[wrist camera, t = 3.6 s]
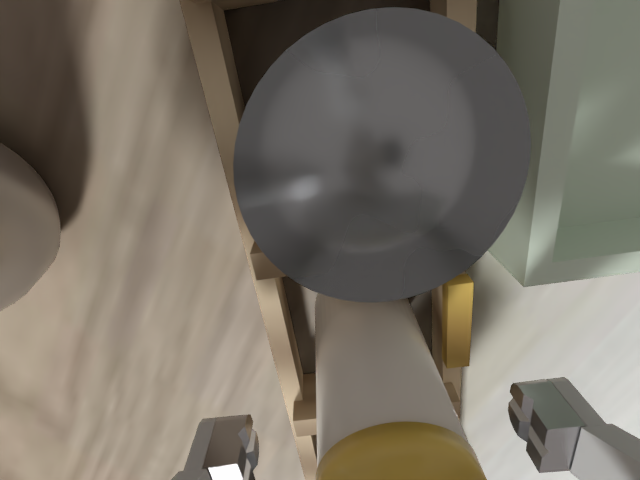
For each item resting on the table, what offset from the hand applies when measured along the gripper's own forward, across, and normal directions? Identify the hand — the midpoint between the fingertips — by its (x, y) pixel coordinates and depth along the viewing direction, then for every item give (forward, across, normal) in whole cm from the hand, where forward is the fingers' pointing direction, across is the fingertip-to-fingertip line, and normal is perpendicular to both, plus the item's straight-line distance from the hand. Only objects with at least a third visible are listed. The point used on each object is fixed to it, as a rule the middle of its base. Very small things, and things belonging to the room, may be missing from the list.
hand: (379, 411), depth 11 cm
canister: (+5, 0, -8) cm, 10 cm away
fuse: (+5, 0, 0) cm, 5 cm away
